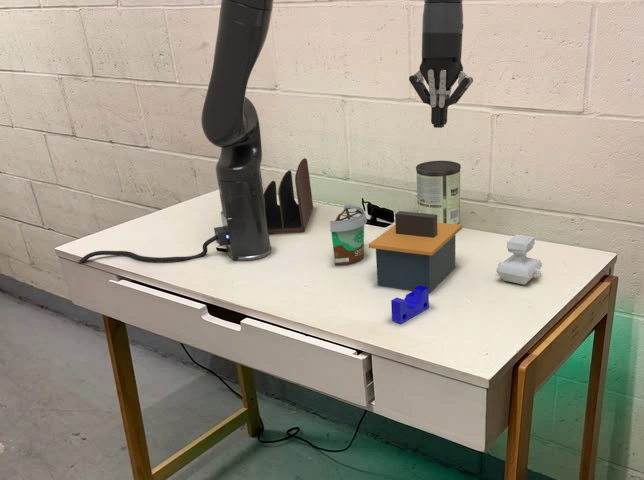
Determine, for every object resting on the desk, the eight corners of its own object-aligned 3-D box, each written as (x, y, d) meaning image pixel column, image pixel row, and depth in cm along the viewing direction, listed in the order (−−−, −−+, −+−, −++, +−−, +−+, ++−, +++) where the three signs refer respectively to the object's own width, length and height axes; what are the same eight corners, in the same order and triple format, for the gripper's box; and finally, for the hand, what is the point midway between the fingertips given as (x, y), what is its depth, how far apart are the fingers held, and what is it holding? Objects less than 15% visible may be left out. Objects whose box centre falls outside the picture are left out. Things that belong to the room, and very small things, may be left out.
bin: (429, 293, 132) (429, 253, 128) (377, 285, 136) (375, 246, 132) (455, 267, 143) (455, 229, 139) (406, 261, 147) (405, 224, 143)
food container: (362, 269, 144) (359, 222, 139) (333, 268, 145) (329, 222, 140) (374, 248, 154) (372, 204, 150) (347, 247, 156) (344, 203, 151)
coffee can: (423, 217, 173) (423, 159, 166) (464, 219, 169) (465, 161, 163) (411, 230, 164) (410, 170, 157) (454, 233, 161) (454, 172, 154)
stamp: (490, 282, 135) (491, 240, 131) (504, 270, 140) (506, 230, 136) (533, 290, 131) (536, 248, 127) (547, 278, 135) (550, 237, 131)
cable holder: (413, 303, 128) (413, 283, 126) (428, 308, 126) (428, 287, 124) (385, 318, 123) (384, 298, 121) (400, 324, 121) (400, 302, 119)
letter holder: (313, 208, 183) (308, 153, 177) (304, 232, 166) (298, 173, 159) (275, 209, 184) (269, 155, 177) (263, 234, 166) (255, 175, 160)
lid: (432, 255, 127) (431, 230, 124) (368, 248, 132) (367, 223, 129) (462, 228, 139) (462, 205, 137) (402, 222, 144) (402, 199, 142)
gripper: (401, 30, 130) (400, 127, 137) (468, 31, 124) (463, 132, 132) (418, 29, 136) (416, 122, 143) (482, 30, 130) (477, 127, 138)
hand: (439, 127), depth 138 cm, fingers closed
